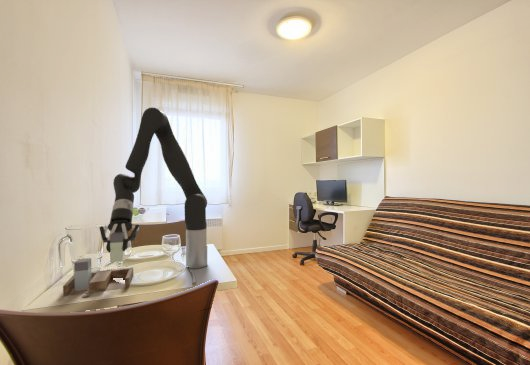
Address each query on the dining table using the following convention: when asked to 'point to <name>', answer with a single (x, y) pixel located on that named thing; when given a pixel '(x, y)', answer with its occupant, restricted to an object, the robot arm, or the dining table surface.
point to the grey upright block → (116, 247)
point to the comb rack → (101, 281)
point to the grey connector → (82, 274)
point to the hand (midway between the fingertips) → (116, 250)
